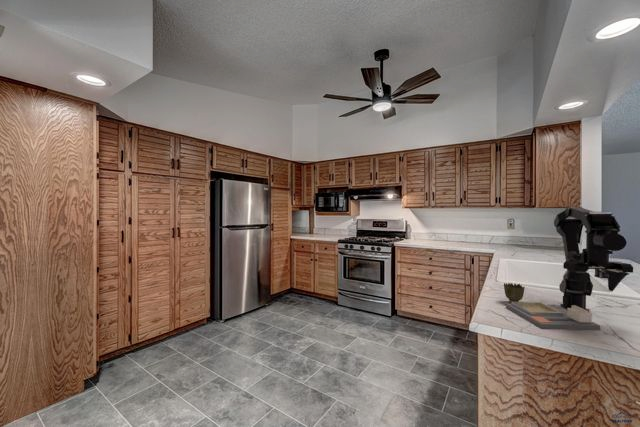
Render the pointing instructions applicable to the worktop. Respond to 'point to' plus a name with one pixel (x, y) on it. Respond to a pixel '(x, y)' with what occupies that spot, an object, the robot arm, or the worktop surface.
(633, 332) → the worktop surface
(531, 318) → the grey flat square slab
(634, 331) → the worktop surface
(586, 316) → the breaker switch
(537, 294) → the worktop surface
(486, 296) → the worktop surface
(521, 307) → the lockout tray
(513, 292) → the cup
